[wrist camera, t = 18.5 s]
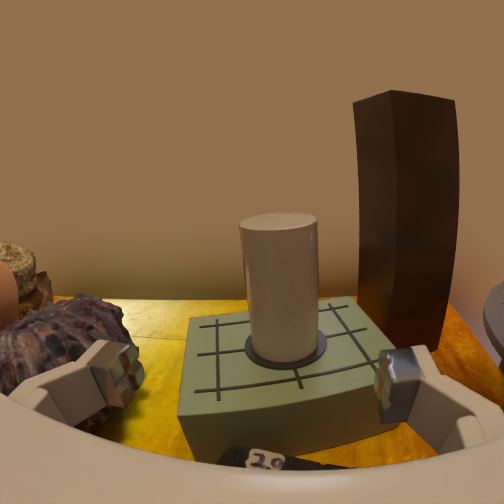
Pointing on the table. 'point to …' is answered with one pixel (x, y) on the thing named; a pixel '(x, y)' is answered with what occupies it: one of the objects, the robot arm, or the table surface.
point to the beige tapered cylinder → (282, 284)
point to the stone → (35, 297)
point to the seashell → (58, 342)
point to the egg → (7, 296)
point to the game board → (280, 386)
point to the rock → (269, 460)
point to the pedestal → (407, 213)
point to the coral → (20, 266)
